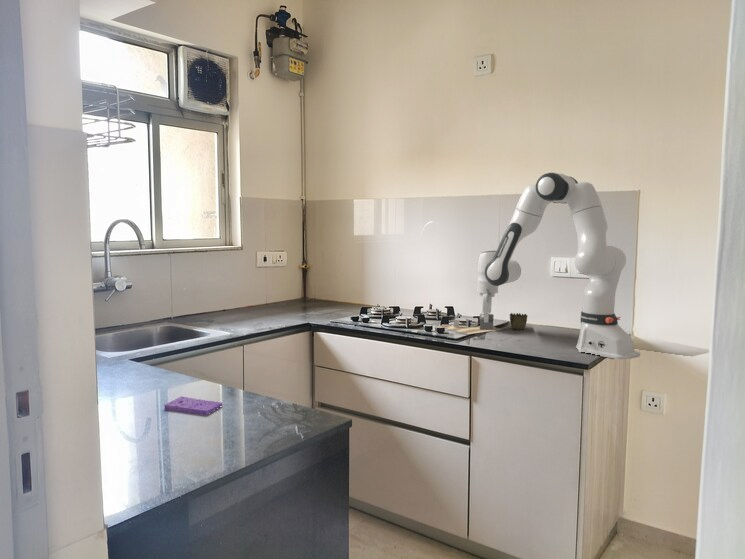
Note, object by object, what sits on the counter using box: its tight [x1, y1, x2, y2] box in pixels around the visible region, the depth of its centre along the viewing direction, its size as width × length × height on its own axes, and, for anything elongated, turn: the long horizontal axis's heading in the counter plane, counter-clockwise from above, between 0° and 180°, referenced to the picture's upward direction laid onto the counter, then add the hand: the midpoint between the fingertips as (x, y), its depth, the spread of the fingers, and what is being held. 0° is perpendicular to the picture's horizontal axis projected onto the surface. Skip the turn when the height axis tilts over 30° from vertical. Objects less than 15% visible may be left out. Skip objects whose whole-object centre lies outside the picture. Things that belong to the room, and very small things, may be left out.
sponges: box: [163, 396, 223, 416], centre depth 143 cm, size 7×13×2 cm, turn 72°
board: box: [436, 324, 503, 335], centre depth 247 cm, size 20×20×2 cm
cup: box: [509, 312, 528, 331], centre depth 245 cm, size 8×7×8 cm
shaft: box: [453, 319, 461, 328], centre depth 248 cm, size 2×2×3 cm
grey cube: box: [479, 313, 495, 330], centre depth 246 cm, size 6×6×6 cm
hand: (485, 320), depth 246 cm, fingers open, 8 cm apart
